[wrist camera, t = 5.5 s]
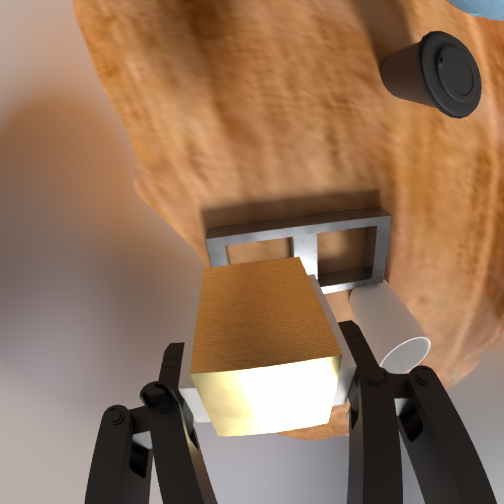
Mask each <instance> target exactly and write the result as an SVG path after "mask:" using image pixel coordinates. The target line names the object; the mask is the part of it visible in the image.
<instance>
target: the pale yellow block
mask: <svg viewBox="0 0 504 504" xmlns="http://www.w3.org/2000/svg"><path fill="white" fill-rule="evenodd" d="M341 359H342V352H341V350H340V347H339V345H338V343H337V340H336V338H335V336H334V333H333V331H332V329H331V326H330V324H329V322H328V319H327V317H326V315H325V312H324V310H323V308H322V306H321V303H320V301H319V299H318V297H317V294H316V292H315V290H314V288H313V285H312V283H311V281H310V279H309V277H308V274H307V272H306V270H305V268H304V266H303V264H302V261H301V259H300V257H292V258H284V259H276V260H268V261H259V262H251V263H243V264H234V265H226V266H217V267H209V268H205V269H204V275H203V281H202V288H201V294H200V301H199V307H198V314H197V321H196V329H195V336H194V344H193V351H192V359H191V368H190V375H191V378H192V380H193V382H194V385H195V387H196V389H197V392H198V394H199V396H200V398H201V401H202V403H203V405H204V407H205V409H206V412H207V414H208V416H209V418H210V420H211V422H212V424H213V426H214V428H215V430H216V432H217V434H218V436H219V437H220V436H238V435H251V434H261V433H270V432H278V431H285V430H291V429H298V428H303V427H309V426H314V425H319V424H324V423H328V419H329V415H330V411H331V407H332V403H333V398H334V394H335V389H336V385H337V380H338V375H339V370H340V365H341Z"/></svg>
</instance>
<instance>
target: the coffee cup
mask: <svg viewBox="0 0 504 504" xmlns="http://www.w3.org/2000/svg"><path fill="white" fill-rule="evenodd" d="M380 72H381V79H382V81H383V84H384V86H385V87H386V88H387V90H388V91H389V92H390V93H391V94H392V95H394V96H396V97H398V98H400V99H404V100H408V101H412V102H416V103H420V104H424V105H427V106H431V107H434V108H438V109H439V110H440V111H441V112H442V113H444V114H446V115H447V116H449V117H452V118H459V119H460V118H463V117H466V116H469V114H471V113H472V112H473V111H474V110H475V109H476V107H477V106H478V104H479V101H480V97H481V89H482V87H481V77H480V73H479V69H478V66H477V64H476V62H475V60H474V58H473V56H472V54H471V53H470V51H469V50H468V49H467V47H466V46H465V45H464V44H463V43H462V42H460V41H459V40H458V39H457V38H455V37H453V36H452V35H450V34H447V33H444V32H442V31H433V32H429V33H428V34H426V35H425V36H423V38H422V39H421V41H420V42H418V43H415V44H413V45H411V46H409V47H407V48H404V49H402V50H400V51H398V52H396V53H394V54H392V55H390V56H388V57H387V58H385V59H384V61H383V62H382V64H381V70H380Z"/></svg>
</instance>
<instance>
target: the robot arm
mask: <svg viewBox="0 0 504 504" xmlns="http://www.w3.org/2000/svg"><path fill="white" fill-rule="evenodd" d="M446 1H448V2H449V3H450V4H451V5H453V6H454V7H456V8H458V9H459V10H461V11H463V12H465V13H468V14H471V15H474V16H478V17H485V18H487V19H490V20H500V21H504V0H446ZM308 277H309V279H310V281H311V283H312V285H313V288H314V290H315V292H316V294H317V297H318V299H319V301H320V303H321V306H322V308H323V310H324V312H325V315H326V317H327V319H328V322H329V324H330V326H331V329H332V331H333V333H334V336H335V338H336V340H337V343H338V345H339V347H340V350H341V352H342V359H341V365H340V370H339V375H338V380H337V385H336V389H335V394H334V398H333V403H332V406H335V405H340V404H344V403H346V401H347V398H348V399H349V402H350V404H351V405H350V408H349V410H348V413H347V417H346V419H349V477H348V494H347V504H403V486H402V485H403V483H402V464H401V449H400V439H399V431H400V434H401V436H402V439H403V442H404V444H405V447H406V449H407V452H408V455H409V457H410V460H411V463H412V466H413V469H414V471H415V474H416V477H417V480H418V483H419V486H420V489H421V492H422V495H423V498H424V501H425V504H497V502H496V499H495V496H494V493H493V491H492V488H491V485H490V483H489V480H488V478H487V475H486V473H485V470H484V468H483V465H482V463H481V461H480V458H479V456H478V454H477V452H476V449H475V447H474V445H473V443H472V441H471V439H470V437H469V434H468V432H467V430H466V428H465V426H464V424H463V422H462V420H461V418H460V416H459V415H458V413H457V411H456V409H455V407H454V405H453V403H452V401H451V400H450V398H449V396H448V394H447V392H446V391H445V389H444V387H443V385H442V383H441V382H440V380H439V378H438V377H437V375H436V373H435V372H434V371H433V370H432V369H431V368H429V367H428V366H423V365H421V366H416V367H414V368H413V369H412V370H411V371H410V373H409V374H394V373H389V372H388V371H387V370H386V369H384V368H382V367H380V366H379V364H378V363H377V361H376V359H375V357H374V355H373V353H372V351H371V349H370V347H369V345H368V343H367V342H366V339H365V337H364V336H363V333H362V331H361V329H360V328H359V326H358V325H357V324H355V323H354V322H353V321H352V320H349V321H344V322H339V323H337V321H336V319H335V317H334V314H333V312H332V310H331V308H330V306H329V304H328V302H327V299H326V297H325V295H324V293H323V291H322V289H321V287H320V285H319V283H318V281H317V279H316V276H315V274H309V275H308ZM200 294H201V288H194V291H193V297H192V302H191V308H190V314H189V320H188V326H187V332H186V338H185V342H183V343H170V344H169V346H168V347H167V348H166V350H165V352H164V357H163V361H162V366H161V370H160V375H159V380H158V381H154V382H151V383H148V384H147V385H146V386H144V387H143V389H142V390H141V392H140V399H141V400H142V402H143V403H144V405H145V406H142V407H139V408H134V409H130V410H128V409H127V408H126V407H125V406H122V405H113V406H111V407H109V408H108V409H107V410H106V411H105V412H104V414H103V417H102V420H101V424H100V428H99V432H98V436H97V440H96V445H95V449H94V454H93V458H92V463H91V468H90V473H89V478H88V484H87V490H86V496H85V503H84V504H149V495H150V482H151V471H152V461H153V455H154V461H155V466H156V472H157V477H158V482H159V487H160V492H161V496H162V501H163V504H218V503H217V501H216V498H215V495H214V492H213V489H212V486H211V483H210V480H209V476H208V473H207V470H206V466H205V463H204V460H203V456H202V453H201V449H200V446H199V442H198V438H197V434H196V431H195V429H194V427H193V418H194V419H195V421H196V422H211V420H210V418H209V416H208V414H207V412H206V409H205V407H204V405H203V403H202V401H201V398H200V396H199V394H198V392H197V389H196V387H195V385H194V382H193V380H192V378H191V375H190V368H191V359H192V351H193V344H194V336H195V329H196V321H197V314H198V307H199V301H200Z"/></svg>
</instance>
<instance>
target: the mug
mask: <svg viewBox="0 0 504 504" xmlns="http://www.w3.org/2000/svg"><path fill="white" fill-rule="evenodd" d="M349 304H350V307H351V309H352V311H353V314H354V316H355V318H356V321H357V323H358V325H359V327H360V329H361V331H362V333H363V336H364V337H365V339H366V342H367V343H368V345H369V347H370V349H371V351H372V353H373V355H374V357H375V359H376V361H377V363H378V364H379V366H380V367H382V368H384V369H386V370H387V371H388V372H389V373H394V374H404V373H406V372H408V371H409V370H411V369H413V368H414V367H415V366H417V365H418V364H419V363H420V362H421V361H422V360H423V359H424V358H425V356H426V355H427V353H428V351H429V349H430V345H431V343H430V340H429V339H428V337H427V335H426V334H425V332H424V331H423V329H422V328H421V326H420V325H419V323H418V322H417V321H416V319H415V318H414V316H413V315H412V314H411V312H410V311H409V310H408V308H407V307H406V306H405V304H404V303H403V302H402V300H401V299H400V297H399V296H398V295H397V293H396V292H395V291H394V290H393V289H392V287H391V286H390V285H389V284H388V282H387V281H386V280H385V279H383V283H379V284H374V285H369V286H364V287H358V288H354V289H353V290H352V292H351V294H350V298H349Z"/></svg>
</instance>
